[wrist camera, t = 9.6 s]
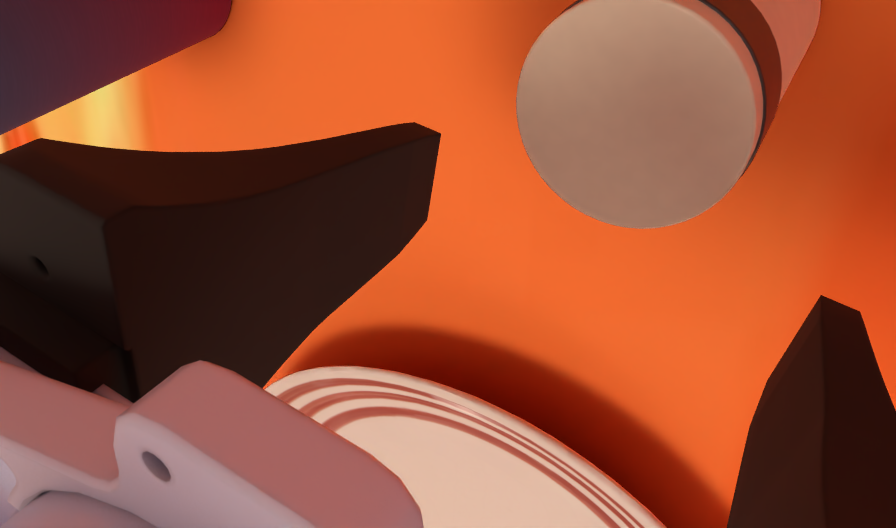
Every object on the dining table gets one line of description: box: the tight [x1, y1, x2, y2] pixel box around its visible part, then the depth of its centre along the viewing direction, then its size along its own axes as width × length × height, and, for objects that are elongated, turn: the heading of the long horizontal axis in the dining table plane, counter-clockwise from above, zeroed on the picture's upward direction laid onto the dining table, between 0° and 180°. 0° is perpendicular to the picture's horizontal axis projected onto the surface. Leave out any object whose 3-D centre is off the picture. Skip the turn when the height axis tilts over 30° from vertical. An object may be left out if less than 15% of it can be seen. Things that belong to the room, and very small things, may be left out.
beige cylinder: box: [516, 0, 821, 229], centre depth 16 cm, size 4×4×8 cm
